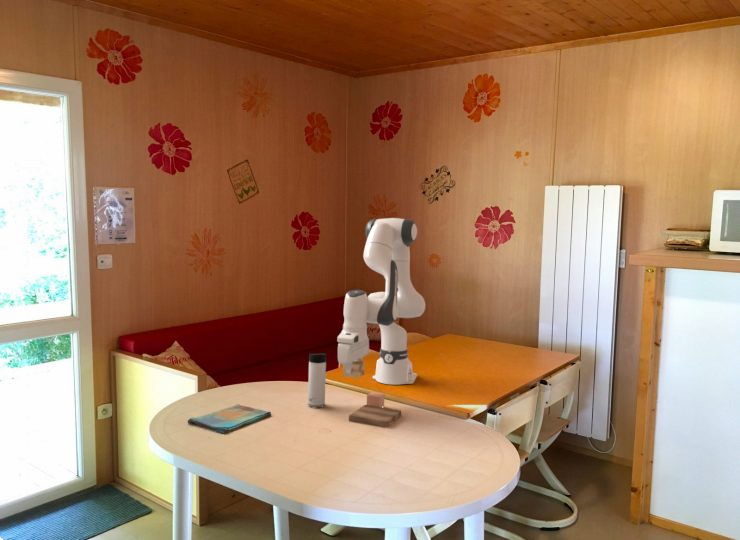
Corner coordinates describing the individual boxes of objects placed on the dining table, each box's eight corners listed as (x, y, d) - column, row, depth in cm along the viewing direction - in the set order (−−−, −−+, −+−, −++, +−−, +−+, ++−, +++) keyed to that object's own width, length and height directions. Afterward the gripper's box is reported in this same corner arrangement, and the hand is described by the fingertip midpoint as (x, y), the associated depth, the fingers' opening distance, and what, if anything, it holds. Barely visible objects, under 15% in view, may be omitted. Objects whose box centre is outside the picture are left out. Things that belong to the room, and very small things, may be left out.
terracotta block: (371, 404, 224) (372, 391, 224) (384, 406, 222) (384, 393, 222) (366, 408, 220) (366, 395, 219) (379, 410, 218) (379, 397, 217)
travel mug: (309, 408, 216) (311, 354, 215) (306, 403, 223) (307, 350, 221) (326, 407, 218) (327, 354, 217) (322, 402, 224) (324, 350, 223)
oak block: (349, 372, 225) (350, 359, 224) (364, 374, 223) (364, 361, 222) (342, 376, 219) (343, 362, 219) (357, 378, 217) (357, 365, 217)
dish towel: (185, 425, 196) (185, 417, 196) (236, 408, 216) (236, 401, 216) (223, 436, 187) (223, 428, 187) (272, 417, 207) (272, 410, 207)
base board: (365, 410, 217) (365, 404, 217) (401, 416, 212) (401, 410, 212) (348, 421, 204) (349, 415, 204) (386, 427, 199) (386, 421, 199)
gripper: (358, 328, 230) (357, 363, 232) (335, 338, 211) (333, 376, 213) (373, 330, 228) (372, 365, 229) (351, 340, 209) (349, 378, 210)
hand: (353, 370), depth 221 cm, fingers closed on oak block, 6 cm apart
